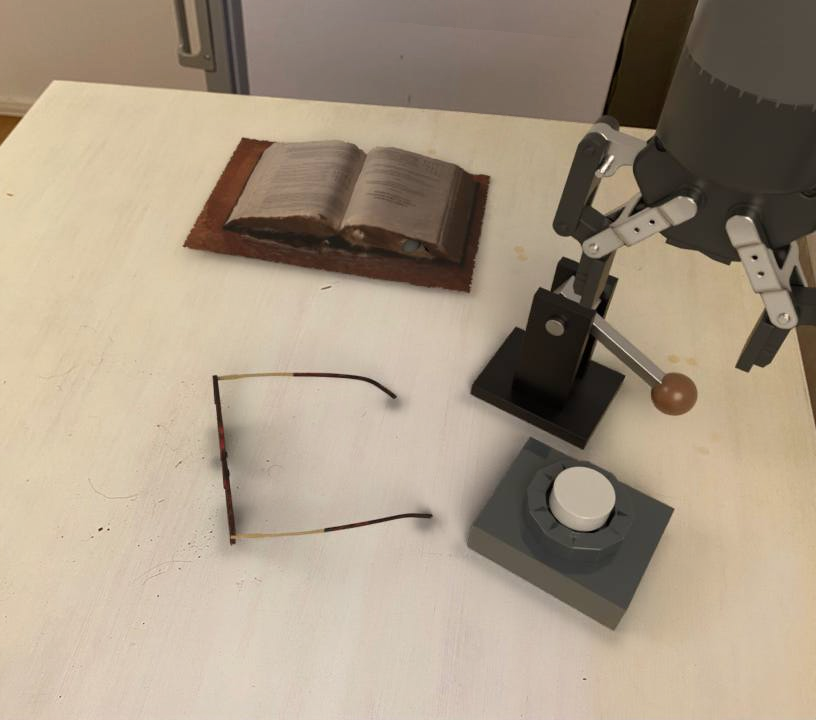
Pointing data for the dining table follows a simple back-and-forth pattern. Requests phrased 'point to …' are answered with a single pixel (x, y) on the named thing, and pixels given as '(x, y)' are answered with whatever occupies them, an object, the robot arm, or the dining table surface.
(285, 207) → the book
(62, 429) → the dining table surface
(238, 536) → the sunglasses
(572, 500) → the white push button
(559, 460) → the button housing
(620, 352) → the flush lever
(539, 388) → the lever bracket
